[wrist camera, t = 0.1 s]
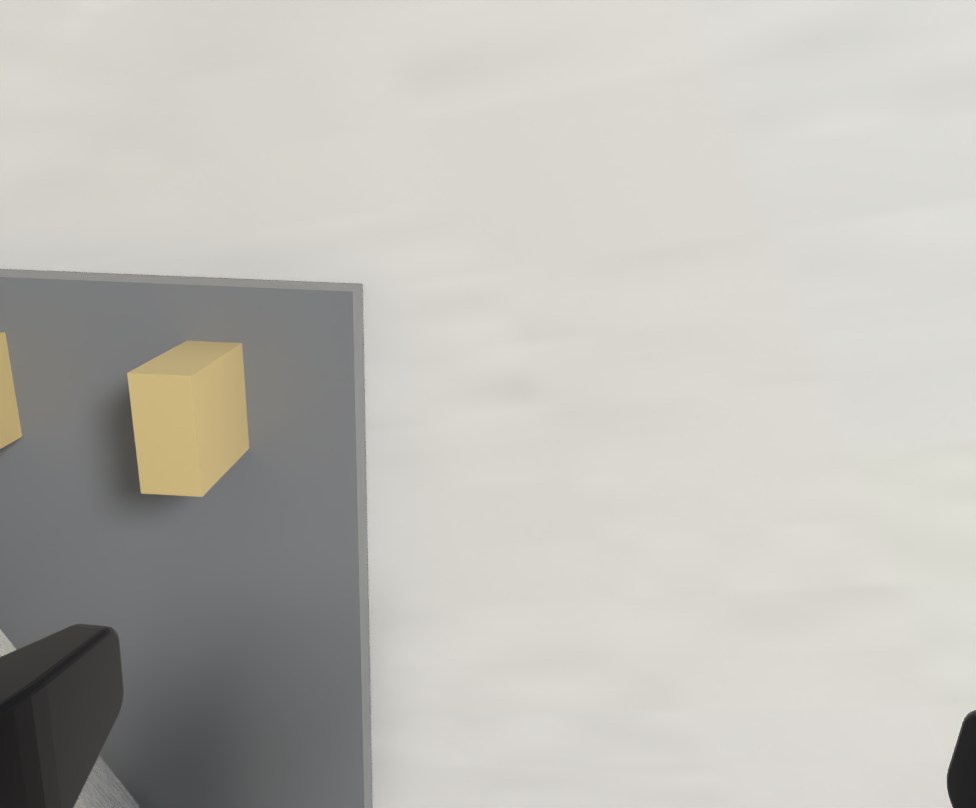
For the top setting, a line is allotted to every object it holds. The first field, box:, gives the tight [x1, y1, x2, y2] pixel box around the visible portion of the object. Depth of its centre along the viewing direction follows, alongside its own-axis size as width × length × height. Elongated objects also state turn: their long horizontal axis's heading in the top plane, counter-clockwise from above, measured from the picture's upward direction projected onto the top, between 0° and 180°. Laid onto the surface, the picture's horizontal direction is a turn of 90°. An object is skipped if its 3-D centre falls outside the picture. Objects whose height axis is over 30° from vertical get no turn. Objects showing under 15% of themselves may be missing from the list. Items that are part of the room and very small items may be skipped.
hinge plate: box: [0, 269, 372, 808], centre depth 23 cm, size 24×14×4 cm, turn 178°
